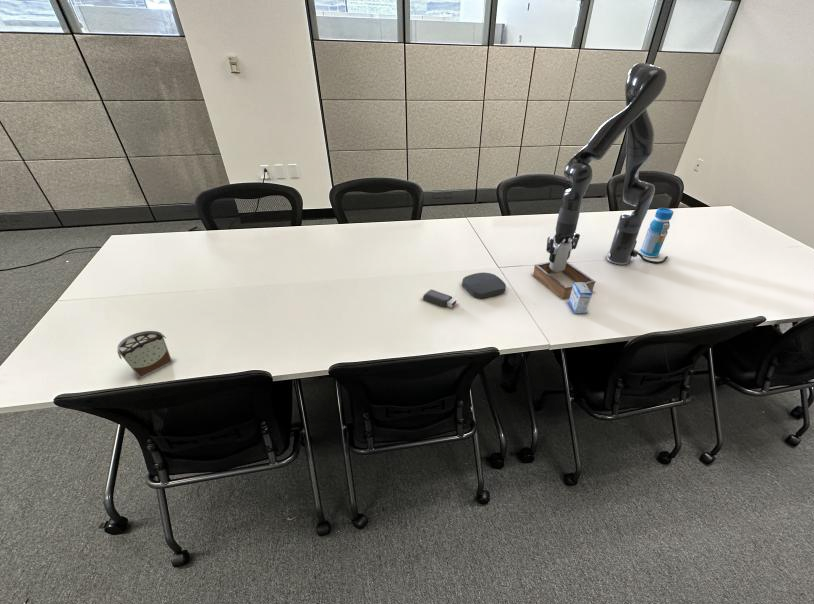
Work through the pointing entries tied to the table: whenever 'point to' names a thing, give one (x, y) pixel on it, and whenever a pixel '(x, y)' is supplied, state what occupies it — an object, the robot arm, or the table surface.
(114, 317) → the table surface
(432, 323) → the table surface
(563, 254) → the beverage can
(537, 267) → the wooden tray
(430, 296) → the usb drive
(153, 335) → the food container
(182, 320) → the table surface
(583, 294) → the medicine box
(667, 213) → the beverage bottle
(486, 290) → the media streaming box
